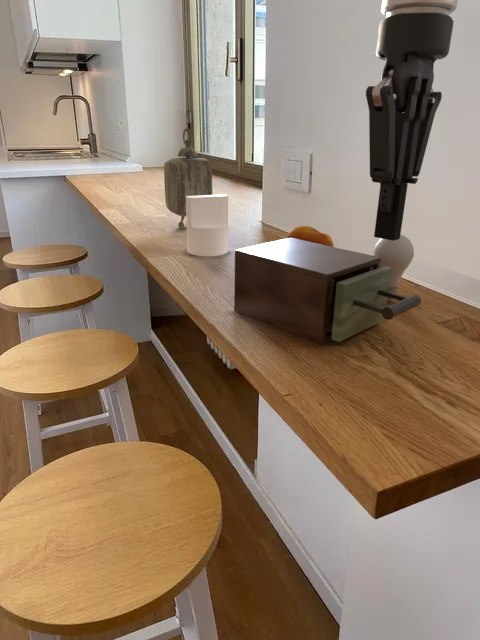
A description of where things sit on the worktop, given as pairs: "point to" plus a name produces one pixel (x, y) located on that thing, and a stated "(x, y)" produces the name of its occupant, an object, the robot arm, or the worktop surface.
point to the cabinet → (292, 283)
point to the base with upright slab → (207, 224)
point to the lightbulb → (395, 258)
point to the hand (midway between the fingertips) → (386, 237)
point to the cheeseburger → (310, 235)
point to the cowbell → (186, 178)
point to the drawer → (363, 302)
